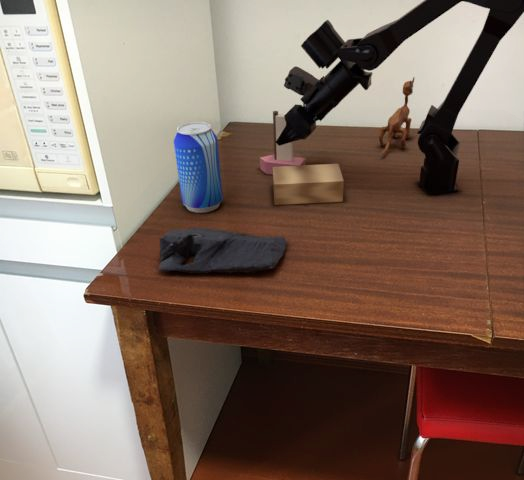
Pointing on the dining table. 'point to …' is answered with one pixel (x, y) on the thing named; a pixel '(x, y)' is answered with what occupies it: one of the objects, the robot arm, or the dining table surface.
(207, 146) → the beer can
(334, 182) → the wood block
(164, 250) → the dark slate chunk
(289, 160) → the toy boat
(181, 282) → the dining table surface
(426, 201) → the dining table surface
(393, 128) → the brown animal figurine
